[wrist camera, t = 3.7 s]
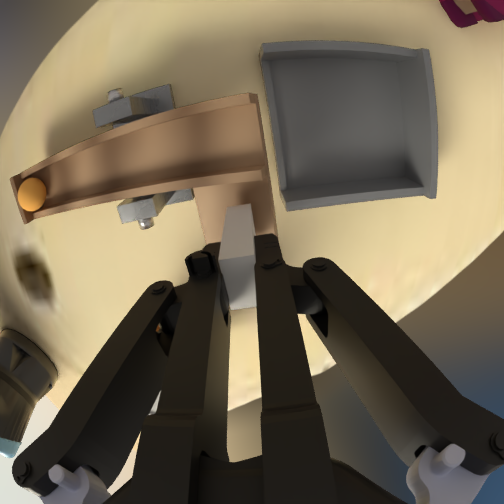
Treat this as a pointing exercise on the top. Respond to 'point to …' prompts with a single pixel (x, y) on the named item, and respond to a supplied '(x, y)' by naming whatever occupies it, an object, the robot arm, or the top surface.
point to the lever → (168, 164)
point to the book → (473, 11)
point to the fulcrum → (127, 112)
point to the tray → (350, 121)
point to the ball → (32, 194)
